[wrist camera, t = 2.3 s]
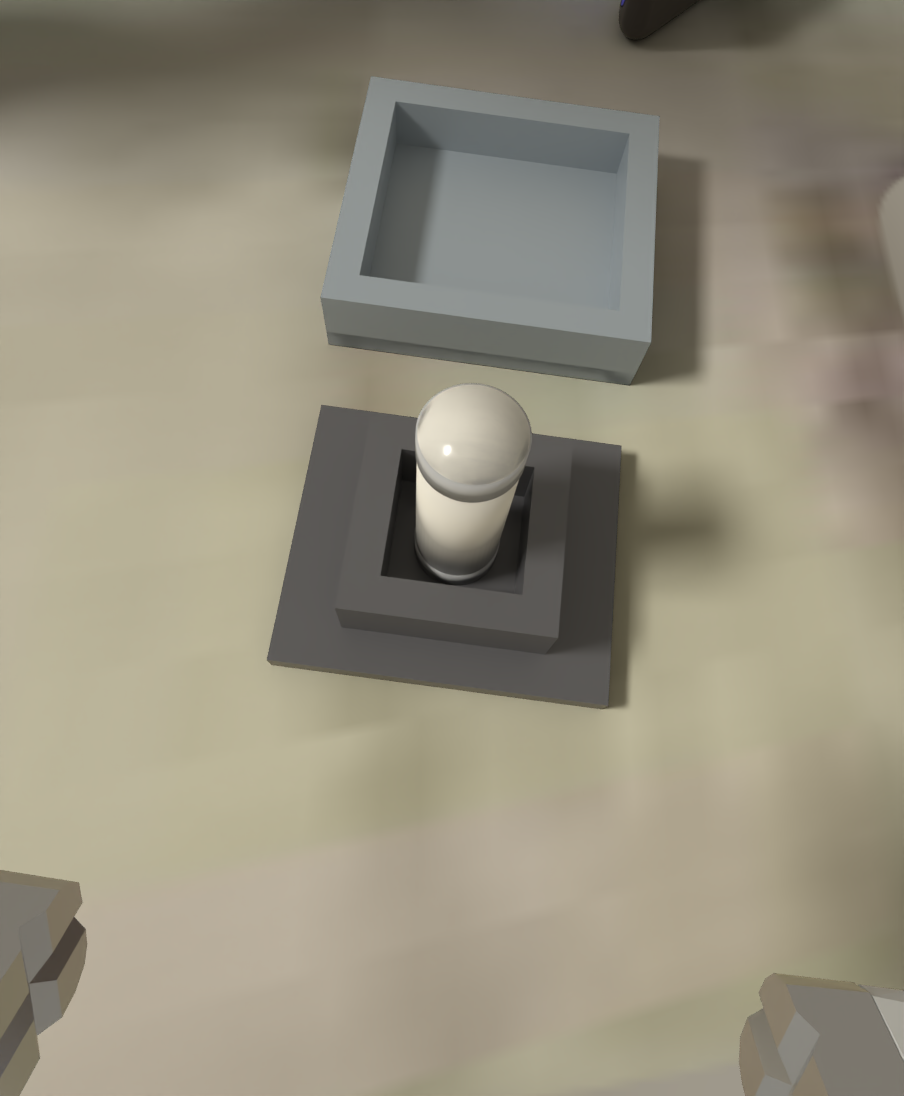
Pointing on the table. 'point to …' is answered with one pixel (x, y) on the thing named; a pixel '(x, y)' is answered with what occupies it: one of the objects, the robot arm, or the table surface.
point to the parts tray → (497, 232)
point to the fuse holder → (440, 609)
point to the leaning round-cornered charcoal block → (648, 15)
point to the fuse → (466, 478)
